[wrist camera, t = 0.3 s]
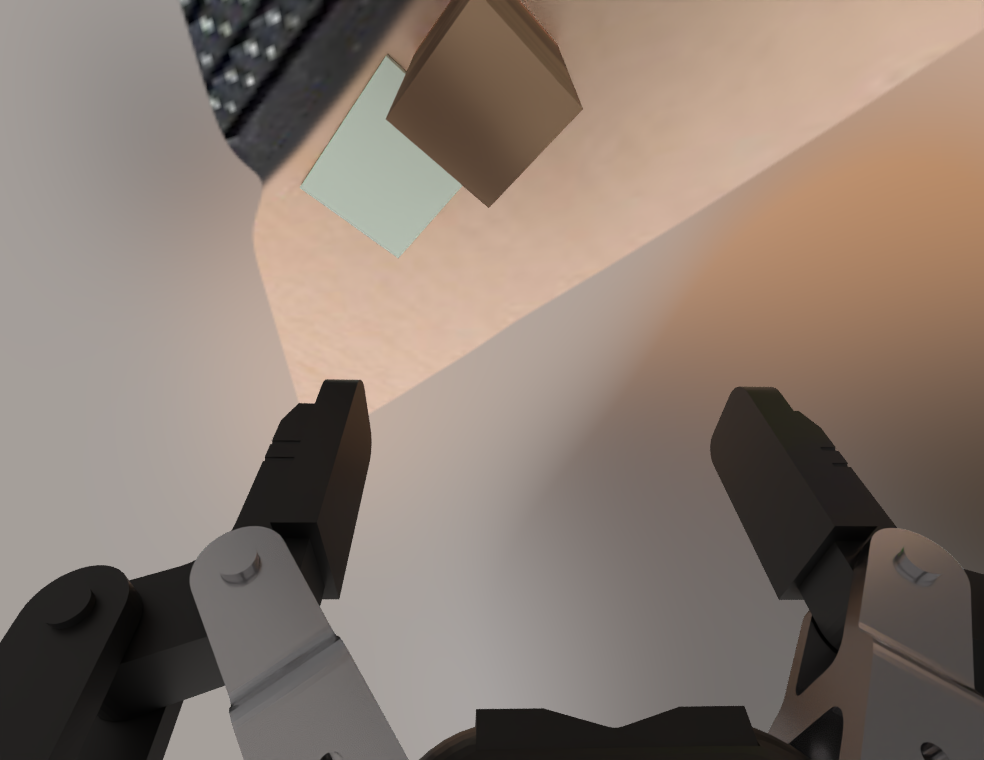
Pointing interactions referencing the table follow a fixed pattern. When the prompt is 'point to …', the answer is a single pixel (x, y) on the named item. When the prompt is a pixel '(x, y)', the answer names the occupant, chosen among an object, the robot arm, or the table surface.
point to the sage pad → (380, 170)
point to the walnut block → (485, 94)
